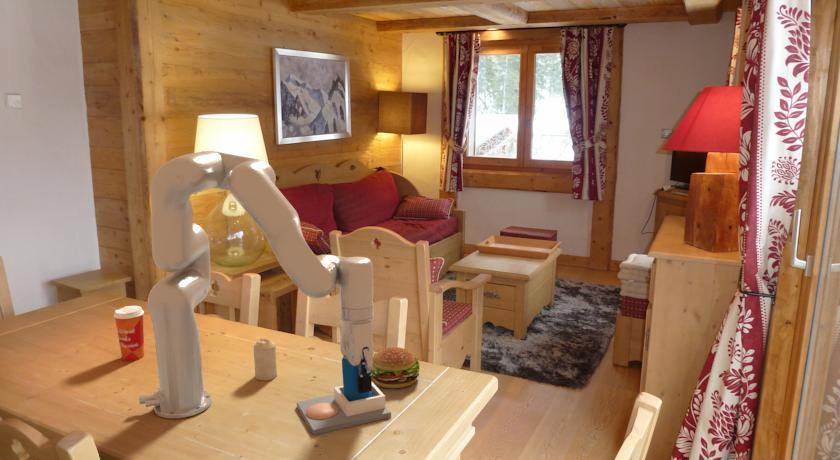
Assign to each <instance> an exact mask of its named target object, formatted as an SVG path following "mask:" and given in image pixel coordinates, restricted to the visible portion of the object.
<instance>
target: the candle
mask: <svg viewBox="0 0 840 460" xmlns="http://www.w3.org/2000/svg"><path fill="white" fill-rule="evenodd" d="M276 349H277V347H276V343H275V342H274V341H272V340H270V339H266V338H259V340H257V341H256V342H255V343H254V345H253V360H254V361H253V363H254V375H255V377H254V378H255V379H256V380H258V381H262V382H263V381H264V382H265V381H271V380H273V379H275V378H276V377H277V375H278V371H277V370H278V367H277V351H276Z"/></svg>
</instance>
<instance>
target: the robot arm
mask: <svg viewBox="0 0 840 460" xmlns="http://www.w3.org/2000/svg"><path fill="white" fill-rule="evenodd" d="M276 182H277V178H276V171H275V170H274V168H273V167H272V166H271V164H269V163H267V162H266V161H264V160H261V159H258V158H254V157H246V156H241V155H236V154H231V153H227V152H226V153H225V152H220V151H212V150H204V151H198V152H191V153H187V154H183V155H181V156H178V157H174V158H172V159H169V161H166V162H165V163H163V164H162V165H160V167H158V169H157V170H156V171H155V172H154V174H153V177H152V179H151V184H150V203H151V204H150V205H151V252H152V253H151V255H152V259H153V262H154V264H155V265H156V267H158V268H159V269H160V270H162V271H163V272H167V273H169V272H170V274H167V275H166V276H165V277H163V278H162V279H159V281H158V282H156V283H155V284H154V285H153V286H152V288H151V289H150V290H149V293H148V296H147V309H148V312H149V317H150V319H151V324H152V328H153V333H154V342H155V343H154V345H155V353H156V362H157V374H158V384H159V385H158V386H159V387H157V391H155V392H153V393H152V394H145V395H139V396H138V401H139V405H145V408H149V407H152V406H153V407H154V409H153V410H154V413H155V414H156V416H158V417H161V418H163V419H172V420H173V419H175V420H176V419H185V418H189V417H192V416H196V415H198V414H200V413H202V412H204V411H205V410H207V409H208V408H209V407H210V406H211V404H212V396H211V394H210V393H209V392H207V391H206V390H204V389H205V388H204V377H203V363H202V353H201V351H202V350H201V338H200V337H201V336H200V331H199V330H200V329H199V325H198V321H197V318H196V316H195V310H194V309H195V308H196V307H197V306H198V305H199V304H200V303H201V302H202V301H204V299H205V298H206V297H208V295H209V292H210V291H209V290H210V288H211V243H210V240H209V237H208V234H207V233H206V230H205V229H204V228H202V227H201V226H200V225H199V224H197V223H195V222H193V220H194V218H193V217H194V212H193V206H192V201H191V196H192V195H194V194H197V193H202V192H205V191H208V190H210V189H219V190H225V191H229V192H230V194H231V195H232V197H234V199H235V200H236V201H237V202H238V204H239V205H240V206H241V207H242V209H244V211H245V212H246V213H247V214H248V216H249V217H250V218H251V220H252V221H254V223H255V224H256V225H257V227H258V228H259V229H260V230H261V232H262V233H263V234H264V236H265V237H266V239H267V241H268V244H269V246H270V248H271V250H272V252H273V254H274V256H275V259H276V260H277V263H278V264H279V265H280V267H281V268H282V270H283V271H284V272H285V274H286V275H287V276H288V277H289V279H290V280H291V281H292V282H293V284H294V285H295V286H296V287H297V288H298V290H300V291H301V293H303V294H304V295H306V296H307V297H310V298H313V299H322V298H325V297H326V296H327V297H328V295H329V294H331V292H332V291H333V290H334V288H335V287H338V288H339V309H340V313H339V314H340V321H341V322H340V354H341V355H342V356H343V355H344V356H345V357H346V358H348V362H349V363H350V364H351V365H353V366H356V365H357V368H358V373H359V376H357V385H358V393H365V392H370V391H371V390H372V382H373V381H372V369H373V363H372V362H373V357H374V337H373V334H374V333H373V325H372V324H373V323H372V321H373V320H374V318H375V314H374V312H375V311H374V307H375V305H374V300H375V299H374V263H373V262H372V260H371V259H370V258H368V257H365V256H349V257H345V256H338V255H332V254H319V255H315V253H314V252H313V251H312V249H311V248H310V246H309V244H308V243H307V241H306V239H305V237H304V235H303V230H302V226H301V221H300V217H299V214H298V212H297V209H295V208H294V207H293V205H292V204H291V203H290V202H289V200H288V199H287V198H286V197H285V196H284V195H283V192H281V191H280V189H279V188H278V186H277V185H276ZM361 360H364V361H365V362H362V363H360V361H361ZM363 365H365V368H364V369H363V370H362V368H361V366H363Z"/></svg>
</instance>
